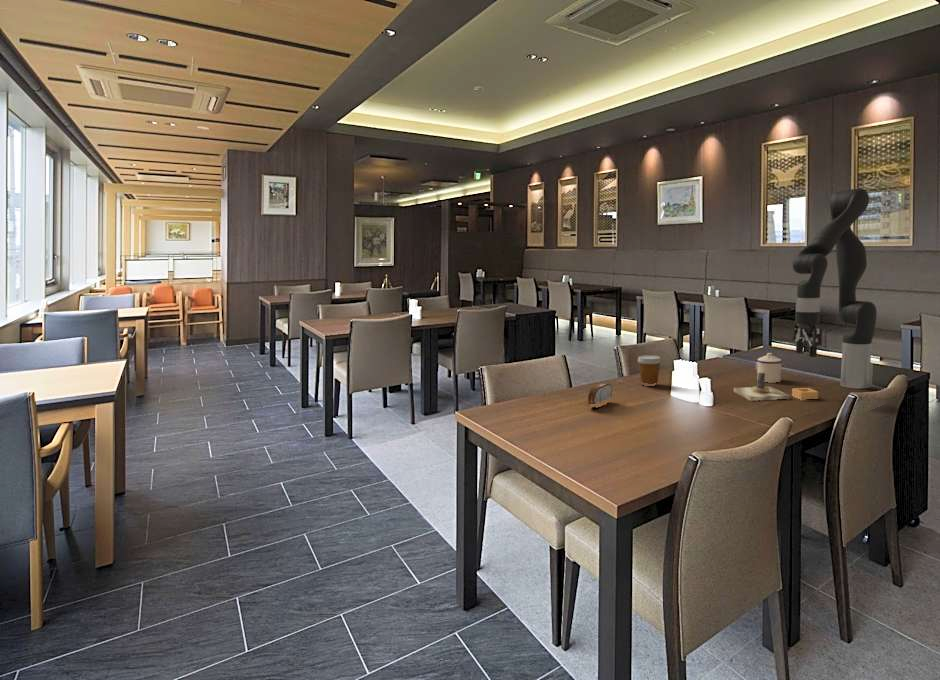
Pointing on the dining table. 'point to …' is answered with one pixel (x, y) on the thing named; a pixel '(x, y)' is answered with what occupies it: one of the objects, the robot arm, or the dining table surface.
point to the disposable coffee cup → (649, 368)
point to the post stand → (761, 391)
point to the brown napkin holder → (599, 393)
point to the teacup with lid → (769, 368)
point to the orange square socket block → (804, 393)
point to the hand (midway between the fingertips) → (805, 354)
